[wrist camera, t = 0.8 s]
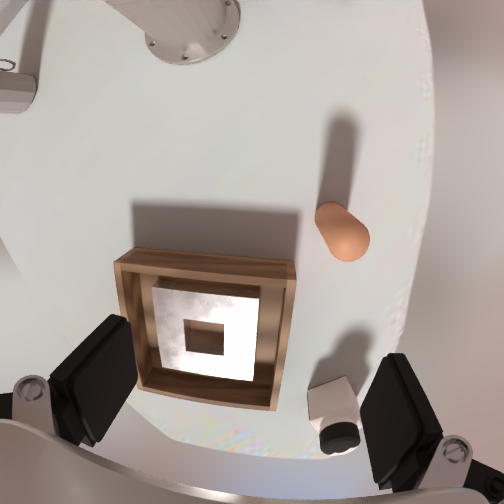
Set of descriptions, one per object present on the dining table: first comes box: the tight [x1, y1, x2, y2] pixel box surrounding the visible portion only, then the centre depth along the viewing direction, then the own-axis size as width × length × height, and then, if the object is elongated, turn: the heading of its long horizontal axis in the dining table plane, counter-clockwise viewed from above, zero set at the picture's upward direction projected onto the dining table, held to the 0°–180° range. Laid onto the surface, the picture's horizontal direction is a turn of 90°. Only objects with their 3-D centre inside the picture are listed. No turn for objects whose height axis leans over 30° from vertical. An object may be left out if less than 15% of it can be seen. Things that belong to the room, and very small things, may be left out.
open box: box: [113, 247, 297, 411], centre depth 38 cm, size 22×22×6 cm
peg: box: [315, 202, 370, 262], centre depth 30 cm, size 4×4×10 cm
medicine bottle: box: [307, 376, 363, 455], centre depth 38 cm, size 7×7×12 cm
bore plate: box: [152, 279, 260, 380], centre depth 39 cm, size 14×14×2 cm
